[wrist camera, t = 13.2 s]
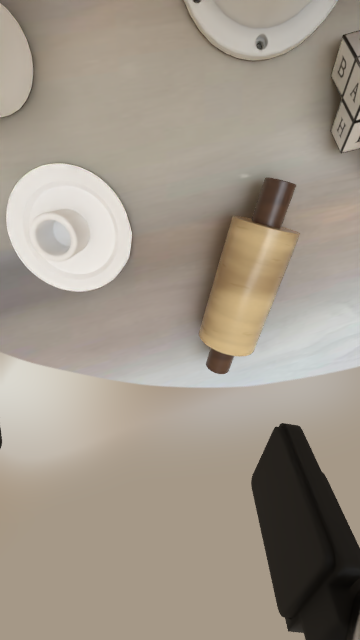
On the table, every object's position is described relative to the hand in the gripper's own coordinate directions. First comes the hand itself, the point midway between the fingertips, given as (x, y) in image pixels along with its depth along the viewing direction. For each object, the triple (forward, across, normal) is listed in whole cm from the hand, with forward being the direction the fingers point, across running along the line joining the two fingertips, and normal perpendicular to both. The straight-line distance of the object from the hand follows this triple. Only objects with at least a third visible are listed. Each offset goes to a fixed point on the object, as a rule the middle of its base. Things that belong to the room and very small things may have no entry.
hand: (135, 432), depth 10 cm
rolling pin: (+22, -8, 0) cm, 24 cm away
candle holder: (+23, +10, -1) cm, 25 cm away
